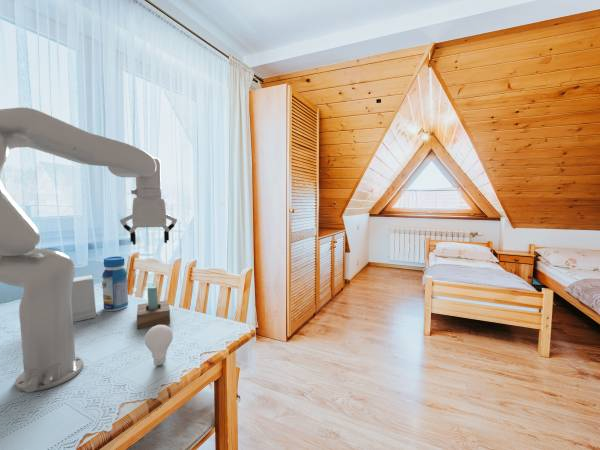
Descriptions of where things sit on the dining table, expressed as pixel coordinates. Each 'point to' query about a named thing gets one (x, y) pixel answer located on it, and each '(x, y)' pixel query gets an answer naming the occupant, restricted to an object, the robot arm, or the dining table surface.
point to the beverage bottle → (114, 284)
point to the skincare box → (83, 298)
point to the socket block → (153, 315)
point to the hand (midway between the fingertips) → (150, 243)
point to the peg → (152, 298)
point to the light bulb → (159, 342)
